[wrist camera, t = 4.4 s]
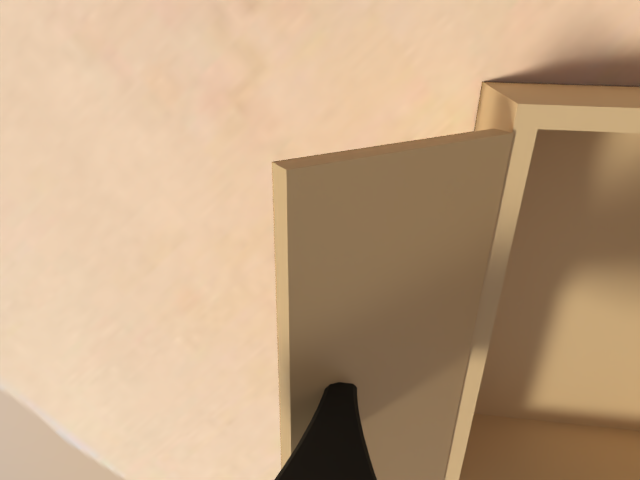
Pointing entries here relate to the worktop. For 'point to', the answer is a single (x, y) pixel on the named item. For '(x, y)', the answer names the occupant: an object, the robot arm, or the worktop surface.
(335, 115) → the worktop surface
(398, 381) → the flap
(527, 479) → the carton
